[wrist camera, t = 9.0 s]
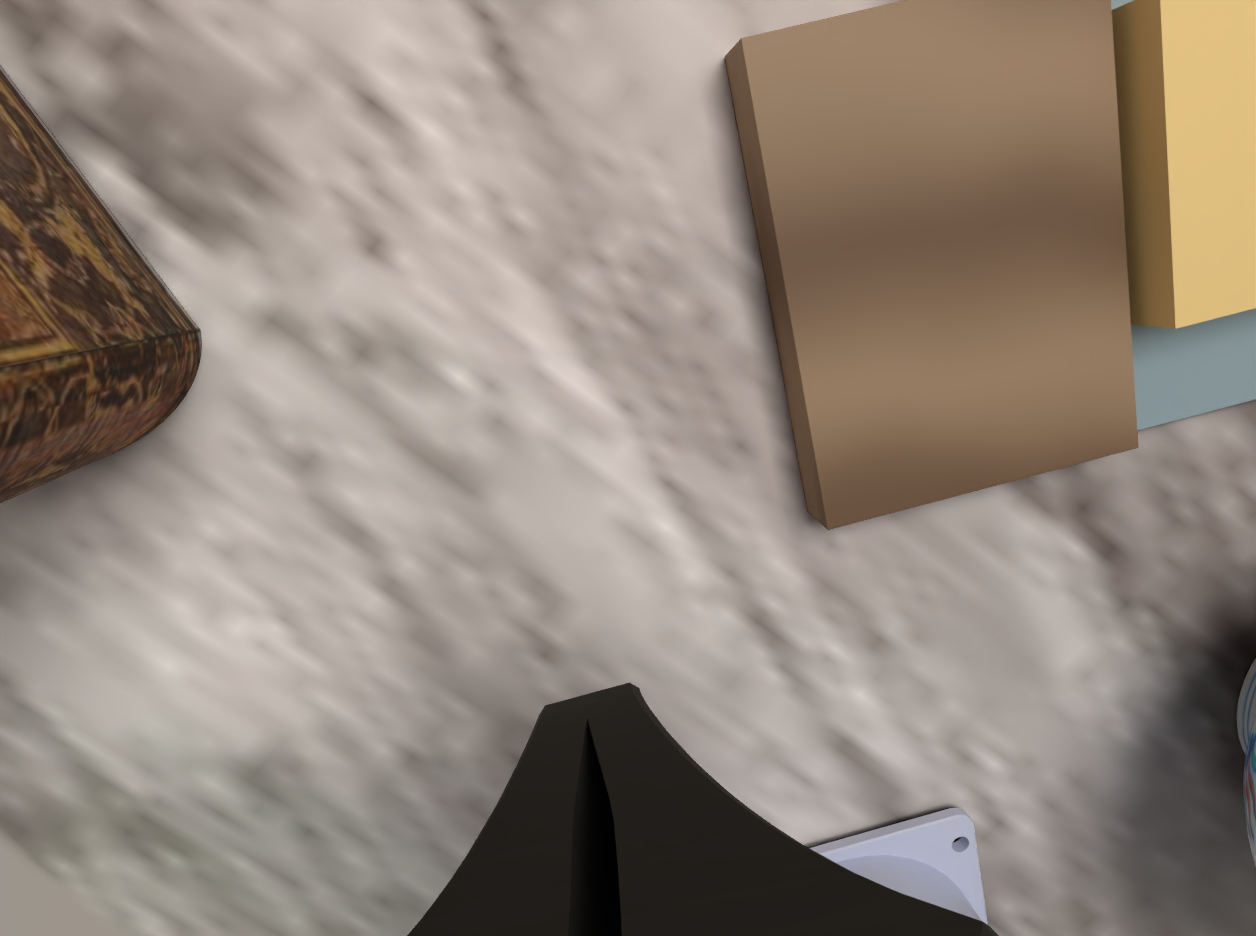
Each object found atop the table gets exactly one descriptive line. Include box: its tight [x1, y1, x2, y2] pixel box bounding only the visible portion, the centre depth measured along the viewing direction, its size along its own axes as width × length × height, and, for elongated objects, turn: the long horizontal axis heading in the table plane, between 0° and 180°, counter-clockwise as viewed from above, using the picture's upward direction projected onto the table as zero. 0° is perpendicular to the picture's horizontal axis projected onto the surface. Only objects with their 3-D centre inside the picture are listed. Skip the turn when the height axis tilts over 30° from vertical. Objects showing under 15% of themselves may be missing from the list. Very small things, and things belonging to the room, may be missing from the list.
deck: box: [725, 0, 1138, 530], centre depth 19 cm, size 11×8×2 cm
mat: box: [1111, 0, 1256, 430], centre depth 20 cm, size 11×8×1 cm
